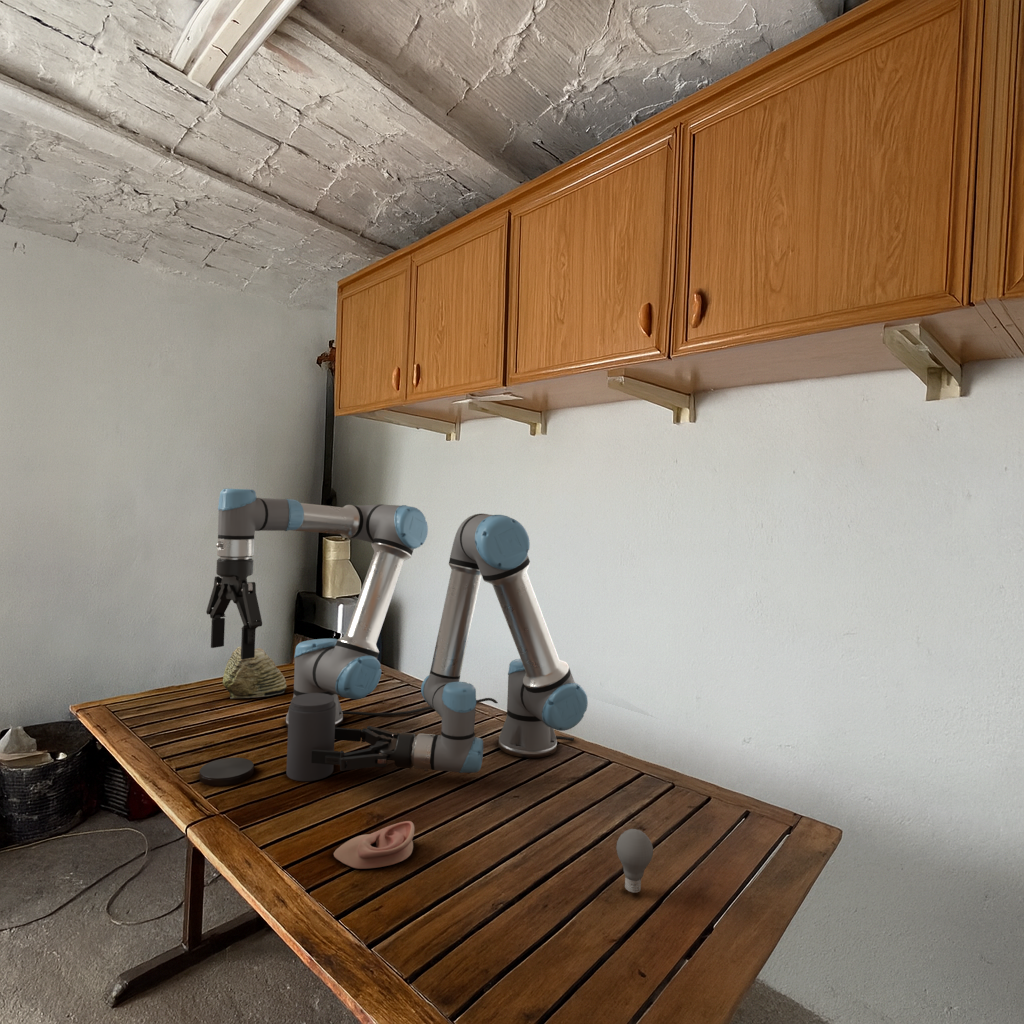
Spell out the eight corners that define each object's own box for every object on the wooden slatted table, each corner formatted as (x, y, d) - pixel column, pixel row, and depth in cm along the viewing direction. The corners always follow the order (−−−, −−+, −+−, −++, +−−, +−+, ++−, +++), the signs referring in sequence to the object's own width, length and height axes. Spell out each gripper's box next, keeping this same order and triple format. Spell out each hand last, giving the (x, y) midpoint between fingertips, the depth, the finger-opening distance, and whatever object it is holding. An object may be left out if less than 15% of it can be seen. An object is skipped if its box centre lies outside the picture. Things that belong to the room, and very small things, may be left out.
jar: (277, 770, 145) (280, 698, 145) (318, 758, 153) (320, 689, 153) (301, 785, 138) (304, 709, 138) (342, 772, 146) (344, 700, 146)
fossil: (218, 695, 195) (220, 647, 195) (278, 685, 208) (279, 640, 207) (228, 703, 189) (230, 653, 188) (289, 692, 201) (290, 645, 201)
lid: (263, 773, 144) (263, 765, 144) (218, 790, 134) (218, 783, 134) (234, 760, 150) (234, 753, 150) (189, 776, 140) (189, 769, 140)
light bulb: (610, 879, 108) (613, 822, 108) (644, 879, 109) (647, 822, 109) (619, 902, 102) (622, 840, 102) (655, 901, 103) (658, 840, 103)
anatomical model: (325, 840, 109) (355, 809, 121) (324, 863, 109) (354, 830, 121) (398, 852, 107) (421, 819, 118) (397, 876, 107) (420, 840, 118)
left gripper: (192, 553, 146) (189, 644, 147) (248, 564, 130) (244, 666, 131) (224, 552, 152) (221, 640, 152) (281, 562, 136) (277, 660, 137)
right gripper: (400, 792, 131) (301, 784, 133) (425, 746, 156) (341, 740, 158) (402, 756, 131) (302, 749, 133) (426, 716, 156) (342, 710, 158)
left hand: (232, 652), depth 142 cm, fingers open, 13 cm apart
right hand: (323, 744), depth 145 cm, fingers open, 13 cm apart
